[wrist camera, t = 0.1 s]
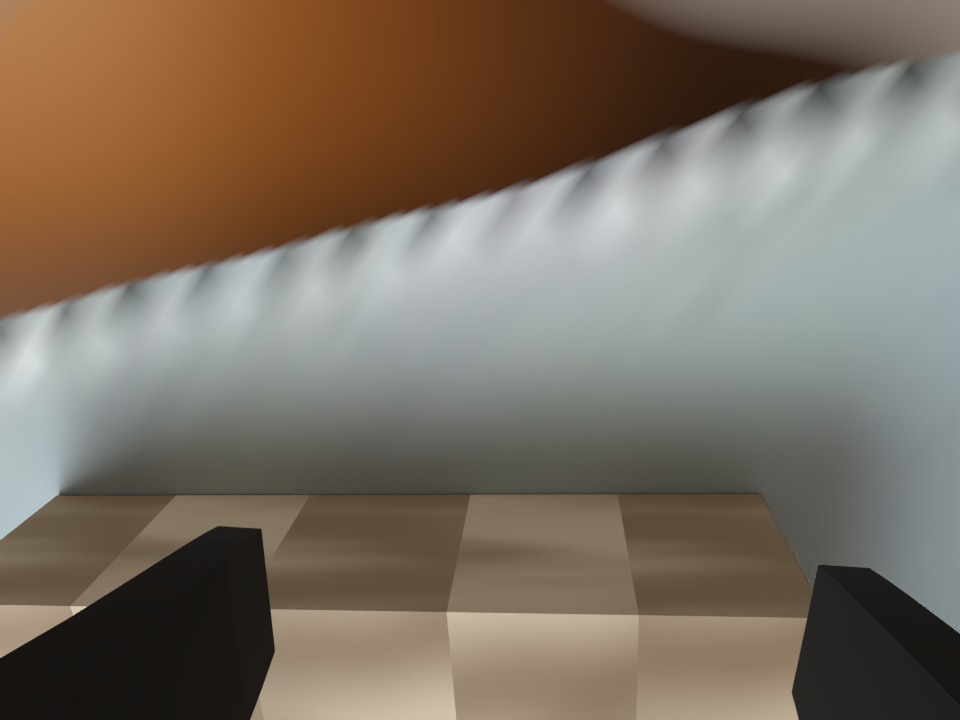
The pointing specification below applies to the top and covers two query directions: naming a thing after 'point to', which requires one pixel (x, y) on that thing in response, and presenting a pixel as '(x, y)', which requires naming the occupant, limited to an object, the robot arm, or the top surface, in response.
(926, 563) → the top surface
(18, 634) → the twin-bore block
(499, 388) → the top surface
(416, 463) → the top surface
